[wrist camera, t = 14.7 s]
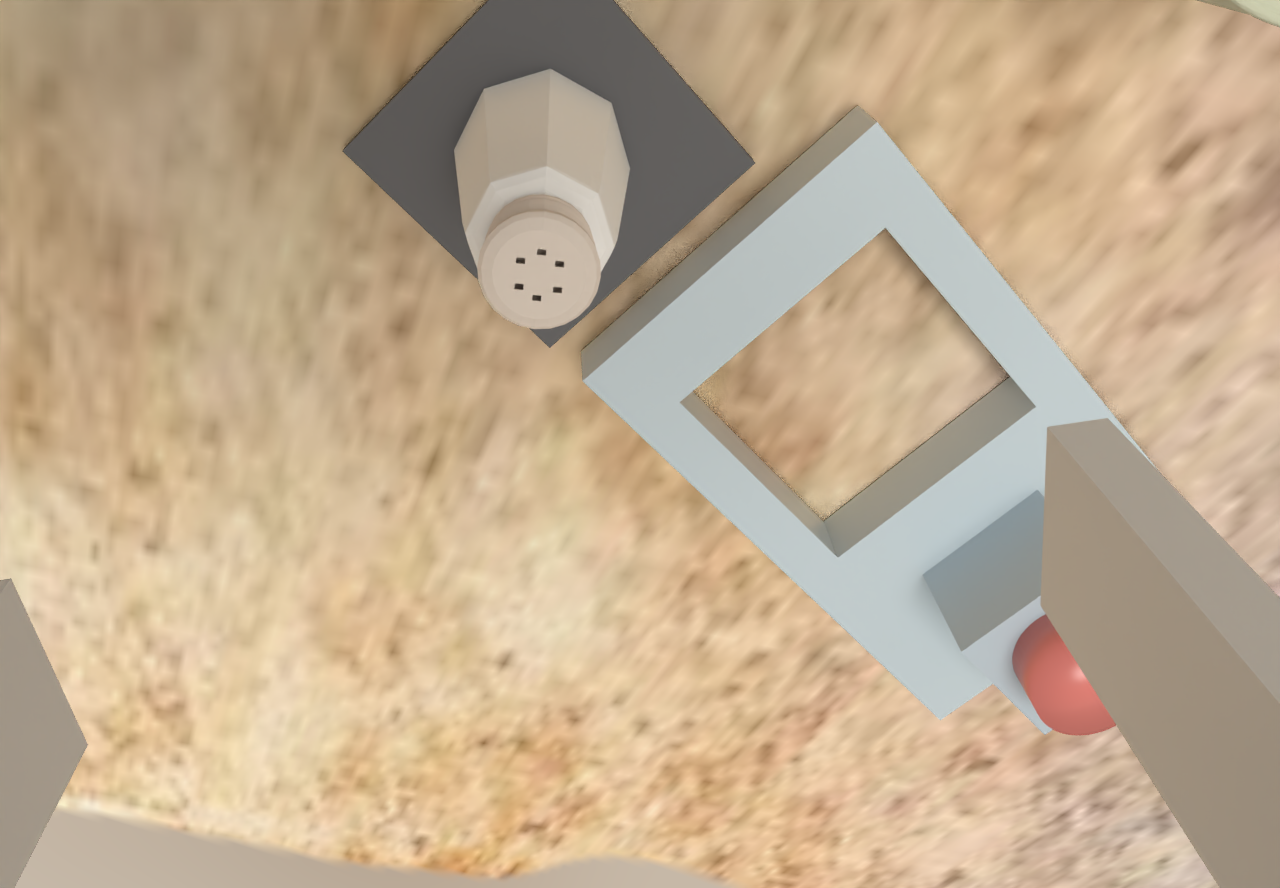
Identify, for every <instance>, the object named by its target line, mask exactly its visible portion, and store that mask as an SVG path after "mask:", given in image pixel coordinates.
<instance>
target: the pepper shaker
mask: <svg viewBox="0 0 1280 888" xmlns="http://www.w3.org/2000/svg"><path fill="white" fill-rule="evenodd" d="M454 154H455V163H456V172H457V181H458V189H459V198H460V207H461V216H462V224H463V227H464V231H465V234H466V238H467V242H468V244H469V247H470V250H471V253H472V255H473V258H474V261H475V264H476V267H477V271H478V282H479V285H480V287H481V290H482V293H483V296H484V297H485V299H486V300H487V301H488V303H489V304H490V306H491V307H492V309H494V310H495V311H496V312H497V313H498V314H499V315H501V316H502V317H503V318H504V319H506V320H508V321H510V322H512V323H514V324H516V325H518V326H522V327H526V328H531V329H551V328H554V327H558V326H561V325H565V324H567V323H568V322H570V321H572V320H573V319H575V318H577V317H579V316H580V315H581V314H582V313H583V312H584V311H585V310H586V309H587V308H588V307H589V306H590V304H591V302H592V300H593V299H594V297H595V295H596V293H597V290H598V286H599V283H600V279H601V271H602V270H603V268H604V266H605V264H606V263H607V261H608V259H609V257H610V255H611V253H612V251H613V249H614V247H615V245H616V242H617V239H618V234H619V228H620V222H621V217H622V211H623V206H624V200H625V194H626V189H627V183H628V177H629V172H630V167H629V163H628V159H627V156H626V152H625V149H624V145H623V142H622V138H621V135H620V131H619V128H618V124H617V121H616V117H615V113H614V110H613V106H612V103H611V102H609V101H607V100H605V99H604V98H602V97H600V96H598V95H597V94H595V93H593V92H591V91H589V90H588V89H586V88H584V87H582V86H581V85H579V84H577V83H575V82H573V81H572V80H570V79H568V78H566V77H565V76H563V75H561V74H559V73H557V72H556V71H554V70H552V69H547V70H544V71H541V72H538V73H534V74H531V75H528V76H524V77H521V78H518V79H514V80H511V81H508V82H504V83H501V84H498V85H494V86H491V87H488V88H484V90H483V92H482V94H481V96H480V98H479V100H478V102H477V104H476V106H475V108H474V110H473V112H472V114H471V116H470V118H469V120H468V122H467V124H466V126H465V128H464V130H463V133H462V135H461V137H460V139H459V141H458V143H457V145H456V147H455V149H454Z"/></svg>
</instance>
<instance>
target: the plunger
mask: <svg viewBox="0 0 1280 888" xmlns="http://www.w3.org/2000/svg"><path fill="white" fill-rule="evenodd" d="M1012 664H1013V669H1014V672H1015V674H1016V676H1017V678H1018V680H1019V681H1020V683H1021V685H1022V687H1023V689H1024V690H1025V692H1026V694H1027V696H1028V698H1029V699H1030V701H1031V703H1032V705H1033V707H1034V708H1035V710H1036V712H1037V714H1038V716H1039V717H1040V719H1041V720H1042V721H1043V722H1044V723H1045V724H1046V725H1047V726H1048V727H1050V728H1051V729H1053V730H1055V731H1057V732H1060V733H1064V734H1069V735H1089V734H1094V733H1098V732H1102V731H1104V730H1107V729H1110V728H1112V727H1114V726H1116V724H1115V722H1114V721H1113V719H1112V717H1111V716H1110V714H1109V713H1108V711H1107V710H1106V708H1105V706H1104V705H1103V703H1102V702H1101V700H1100V699H1099V697H1098V695H1097V694H1096V692H1095V691H1094V689H1093V688H1092V686H1091V684H1090V683H1089V681H1088V680H1087V678H1086V677H1085V675H1084V673H1083V672H1082V670H1081V669H1080V667H1079V666H1078V664H1077V662H1076V661H1075V659H1074V658H1073V656H1072V654H1071V653H1070V651H1069V650H1068V648H1067V647H1066V645H1065V643H1064V642H1063V640H1062V639H1061V637H1060V636H1059V634H1058V632H1057V631H1056V629H1055V628H1054V626H1053V625H1052V623H1051V621H1050V620H1049V618H1048V617H1047V615H1046V614H1045V615H1043V616H1041V617H1040V618H1038V619H1037V620H1035V621H1034V622H1033V623H1032V624H1030V625H1029V626H1028V627H1027V628H1026V629H1025V631H1024V632H1023V633H1022V634H1021V636H1020V637H1019V639H1018V641H1017V643H1016V645H1015V647H1014V651H1013V656H1012Z"/></svg>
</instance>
